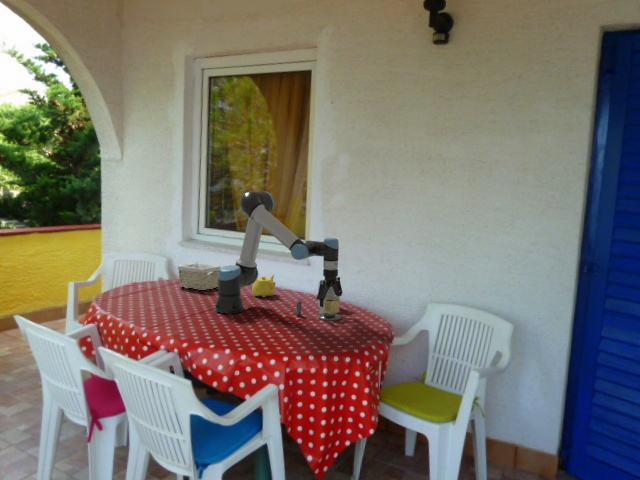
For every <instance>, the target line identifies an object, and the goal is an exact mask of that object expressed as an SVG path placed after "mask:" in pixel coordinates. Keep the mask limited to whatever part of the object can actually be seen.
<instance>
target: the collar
mask: <svg viewBox="0 0 640 480" xmlns="http://www.w3.org/2000/svg"><path fill="white" fill-rule="evenodd" d="M324 300H325V313H327V314H334V313H335V314H338V313H339V312H340V304H341V303H340V302H341V300H336V299H331V298H328V299H324Z"/></svg>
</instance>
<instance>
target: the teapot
mask: <svg viewBox="0 0 640 480" xmlns="http://www.w3.org/2000/svg"><path fill="white" fill-rule="evenodd" d="M274 277H275V274H273V275H271V277H270V278H269V277H266V276H264V275H263V276H261V277H260V278H259V277H258V278H257V280H256V281H255V282H254V283H253V284H252V288H251V291H252V292H251V293H252V294H253V295H254V297H255V296H258V297H259V296H260V297H261V298H262V297H266V298H267V296H268V297H272V296H273V294H274V293H275V292H276V288H275V287H276V285H277V283H276V281H274Z"/></svg>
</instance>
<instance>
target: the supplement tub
mask: <svg viewBox="0 0 640 480" xmlns="http://www.w3.org/2000/svg"><path fill="white" fill-rule="evenodd" d="M320 281H321V280H318V290H317V291H319V287H320ZM334 296H335V292H334V290H333V288H332V287H330V289H328V292H327V294H326V296H325V299H328V298H331V299H334ZM322 298H323V297H322ZM317 301H318V302H317V305H318V308H319V309H320V300H318V299H317Z"/></svg>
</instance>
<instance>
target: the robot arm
mask: <svg viewBox="0 0 640 480" xmlns="http://www.w3.org/2000/svg"><path fill="white" fill-rule="evenodd" d="M239 203H240V209H241V210H242V211H243V213H244V214H245V215H246V216H247V217H248V219H247V224H246V228H245V232H244V237H243V241H242V242H243V243H242V247H241V251H240V255H239V258H238V259H236V261H235V265H234V264H230V265H225V266H221V268H220V269H219V272H218V288H217V291H218V293H217V294H218V295H217V299H216V303H215V307H214V312H215V313H217V312H220V313H219V314H222V313H226V314H225V315H233V314H232V313H234V314H238V313H239V312H240V313H243V312H244V309H245V306H244V302H243V299H242V296H241V295H242V292H241V288H244V287H249V286H251V285H253V283H254V282H255V281H256V280H257V279H259V270H258V268H257V267H258V264H257V263H256V259H257V255H258V250H259V247H260V242H261V237H262V232H263V229H265V230H266V231H267V232H268V233H270V235H271V236H273V237H274V238H275V239H276V240H278V241H279V242H280V243H281V244H282V245H283V246H284V247H285V248H287V249H288V250H289V251H290V255H291V256H292V258H293V259H295V260H297V261H298V260H299V261H300V260H305V259H308V258H311V257H323V260H322V261H323V264H322V268H323V269H322V270H323V271H322V272H323V273H322V276H323V277H324V279H321V280H319V281H320V287H319V291H318V290H317V291H318V293H317V296H316V300H317V301H318V300H320V308H319V313H320V314H324V313H325V300H324V299H325V296H326V294H327V292H328V289H330V287H332V288H333V290H334V292H335V296H334V299H336V300H340V298H341V297H342V296H343V290H342V289H343V288H342V285H341V277H340V276H339V270H338V268H339V249H340V245H339V243H340V242H339V239H338V238H335V237H326V238H324V240H323V241H319V240H318V241H316V240H302V239H300V237H298V236H297V235H296V234H295V233H293V232H292V231H291V230H290V229H289V228H288V227H287V226H286V225H285V224H283V223H282V222H281V221H280V220H278V218H276V217H275V216H274V215H273V214H272V213H271V212H272V211H273V210H274V209H275V204H276V202H275V198H274V197H273V195H272V193H270V192H268V191H264V190H257V191H256V190H255V191H254V190H253V191H247V192H245V193H244V194H242V196H241V198H240V202H239ZM322 297H323V298H322ZM340 301H341V300H340Z"/></svg>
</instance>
